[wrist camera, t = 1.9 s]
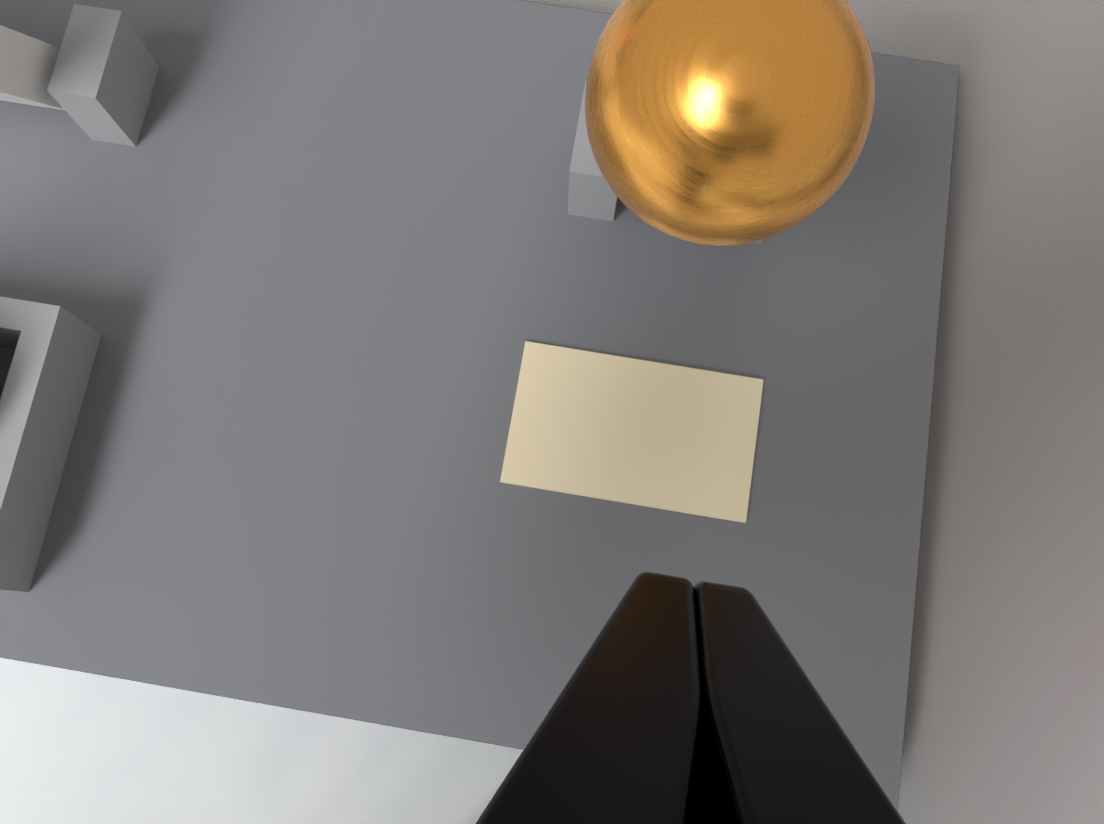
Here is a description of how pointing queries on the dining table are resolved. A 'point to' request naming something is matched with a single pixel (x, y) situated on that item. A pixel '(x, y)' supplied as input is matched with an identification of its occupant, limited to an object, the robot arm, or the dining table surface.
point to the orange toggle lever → (728, 112)
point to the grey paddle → (26, 69)
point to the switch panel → (436, 369)
